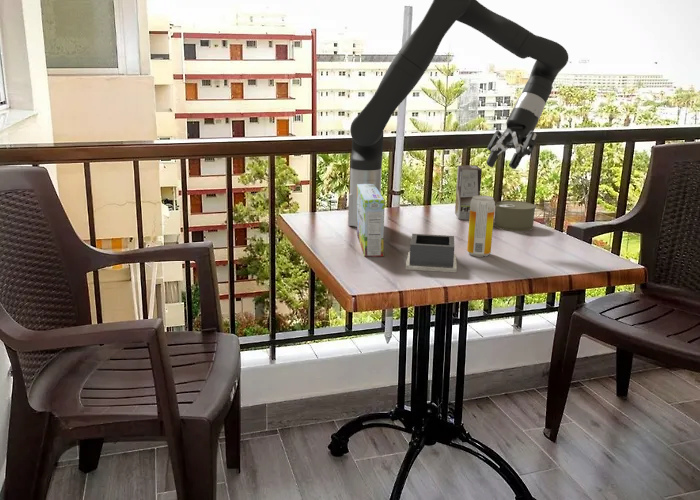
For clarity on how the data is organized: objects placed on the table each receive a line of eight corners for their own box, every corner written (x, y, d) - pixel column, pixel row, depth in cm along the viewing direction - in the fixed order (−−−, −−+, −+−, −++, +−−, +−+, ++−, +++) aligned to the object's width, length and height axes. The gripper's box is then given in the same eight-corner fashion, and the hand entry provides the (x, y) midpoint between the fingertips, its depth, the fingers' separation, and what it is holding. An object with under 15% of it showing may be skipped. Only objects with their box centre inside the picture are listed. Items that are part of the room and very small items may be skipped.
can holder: (405, 269, 158) (406, 245, 156) (408, 255, 169) (409, 232, 167) (456, 272, 156) (457, 248, 154) (455, 258, 167) (457, 235, 166)
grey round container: (541, 229, 198) (544, 207, 196) (508, 233, 194) (510, 210, 192) (517, 220, 209) (519, 199, 207) (485, 223, 204) (487, 201, 202)
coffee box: (478, 220, 208) (482, 169, 204) (458, 219, 208) (461, 169, 204) (473, 213, 217) (477, 164, 212) (454, 213, 217) (457, 164, 212)
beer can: (489, 251, 174) (493, 195, 170) (491, 257, 168) (496, 200, 164) (466, 250, 175) (470, 194, 170) (467, 256, 169) (471, 199, 165)
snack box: (354, 235, 187) (356, 183, 183) (374, 235, 187) (376, 183, 183) (362, 257, 167) (364, 199, 162) (384, 257, 167) (387, 199, 163)
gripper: (498, 106, 181) (473, 158, 179) (538, 105, 169) (511, 160, 167) (515, 121, 185) (490, 172, 183) (554, 121, 173) (528, 175, 171)
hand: (500, 166), depth 175 cm, fingers open, 8 cm apart
